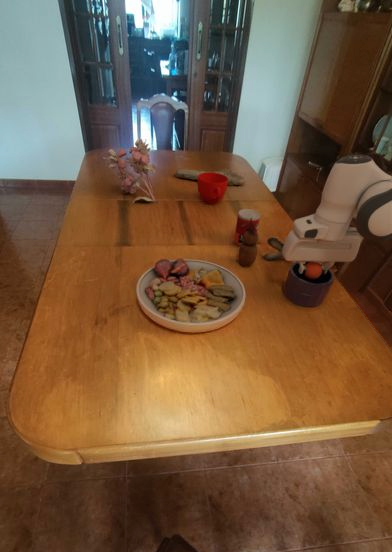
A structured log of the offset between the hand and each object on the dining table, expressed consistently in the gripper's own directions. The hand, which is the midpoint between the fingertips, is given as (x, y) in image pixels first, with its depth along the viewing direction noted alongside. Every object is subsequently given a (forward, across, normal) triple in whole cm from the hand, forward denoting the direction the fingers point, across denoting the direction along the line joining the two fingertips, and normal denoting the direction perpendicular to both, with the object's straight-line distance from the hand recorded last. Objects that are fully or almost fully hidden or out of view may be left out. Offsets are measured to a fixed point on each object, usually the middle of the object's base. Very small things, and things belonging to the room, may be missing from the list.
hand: (311, 273), depth 91 cm
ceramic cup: (+8, +21, -66) cm, 70 cm away
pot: (+8, 0, 0) cm, 8 cm away
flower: (+8, +55, -70) cm, 89 cm away
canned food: (+8, +13, -31) cm, 35 cm away
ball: (-1, 0, 0) cm, 1 cm away
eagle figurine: (+8, +3, -21) cm, 23 cm away
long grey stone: (+8, +19, -94) cm, 96 cm away
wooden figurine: (+8, +15, -17) cm, 24 cm away
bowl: (+8, +35, +4) cm, 36 cm away
